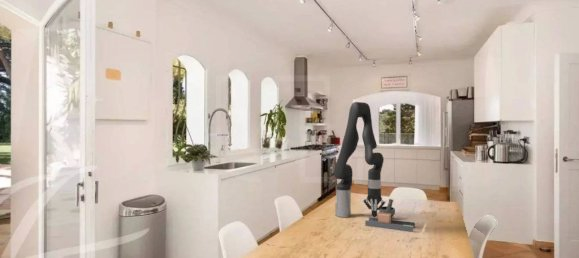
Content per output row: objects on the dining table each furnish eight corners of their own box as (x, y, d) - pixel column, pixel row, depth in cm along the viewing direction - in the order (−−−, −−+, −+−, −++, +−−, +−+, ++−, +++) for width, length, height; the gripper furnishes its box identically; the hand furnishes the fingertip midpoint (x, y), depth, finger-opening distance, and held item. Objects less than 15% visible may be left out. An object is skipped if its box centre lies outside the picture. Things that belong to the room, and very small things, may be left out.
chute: (365, 227, 198) (365, 220, 198) (369, 223, 206) (369, 216, 206) (412, 233, 186) (412, 226, 186) (414, 229, 194) (415, 222, 194)
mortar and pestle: (389, 222, 208) (389, 202, 208) (376, 219, 215) (376, 200, 214) (398, 218, 216) (398, 199, 215) (385, 215, 222) (385, 197, 222)
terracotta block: (378, 226, 196) (378, 214, 196) (380, 223, 201) (380, 212, 201) (388, 228, 193) (388, 215, 193) (390, 225, 199) (390, 213, 199)
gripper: (361, 187, 199) (361, 216, 199) (384, 189, 193) (384, 219, 193) (364, 185, 206) (364, 213, 206) (387, 186, 200) (387, 216, 200)
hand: (374, 216), depth 200 cm, fingers closed
